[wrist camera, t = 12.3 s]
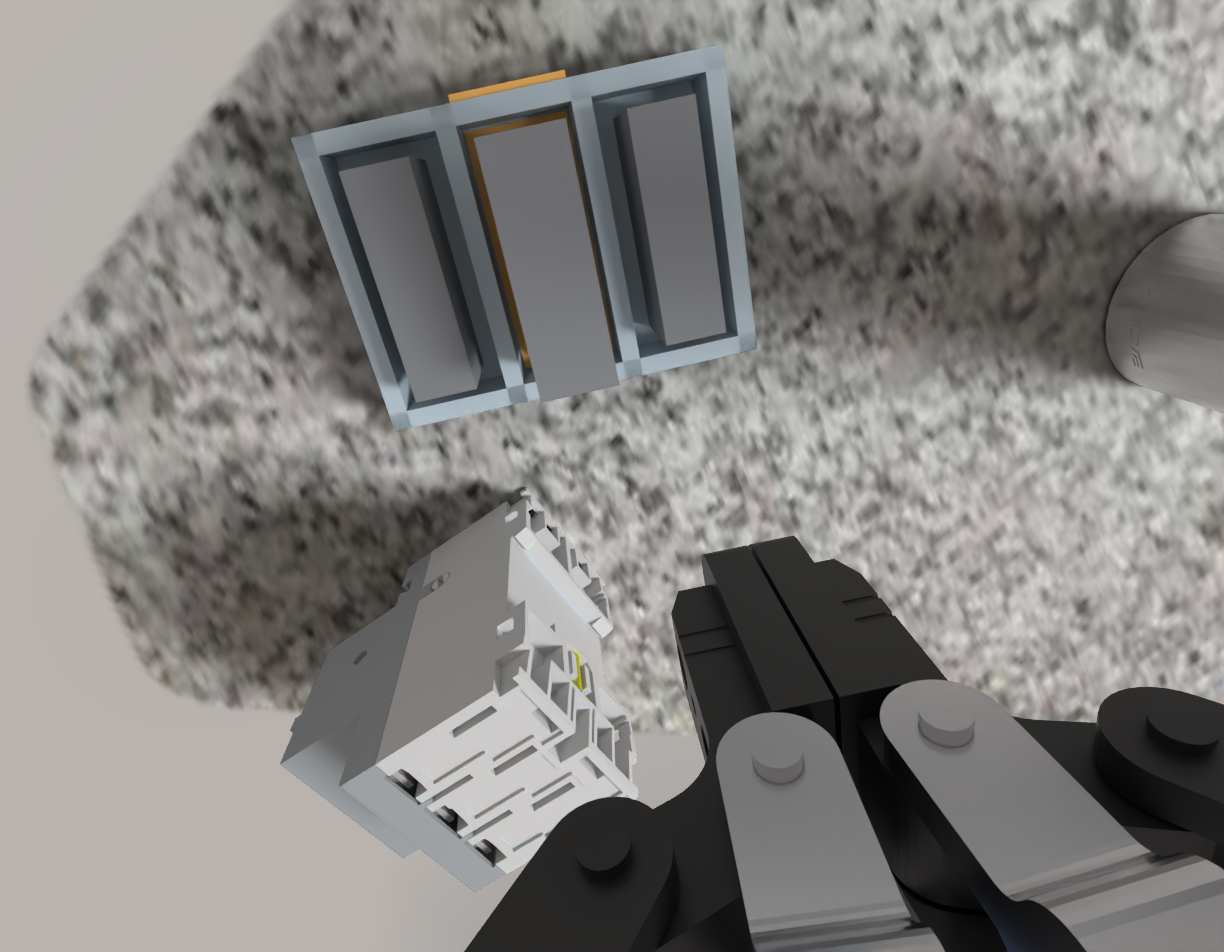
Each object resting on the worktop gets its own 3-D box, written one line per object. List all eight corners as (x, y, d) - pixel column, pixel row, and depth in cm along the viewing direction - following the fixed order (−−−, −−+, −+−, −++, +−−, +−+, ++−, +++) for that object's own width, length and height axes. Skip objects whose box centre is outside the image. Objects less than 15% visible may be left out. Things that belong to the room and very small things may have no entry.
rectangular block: (556, 134, 29) (566, 117, 21) (599, 339, 32) (620, 384, 25) (487, 150, 29) (473, 138, 21) (538, 353, 32) (540, 402, 25)
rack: (701, 51, 29) (736, 23, 24) (735, 333, 34) (771, 359, 29) (313, 135, 29) (268, 124, 24) (407, 408, 34) (386, 447, 29)
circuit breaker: (323, 624, 38) (209, 868, 25) (526, 487, 36) (524, 670, 23) (412, 704, 41) (353, 963, 27) (604, 581, 39) (644, 794, 26)
